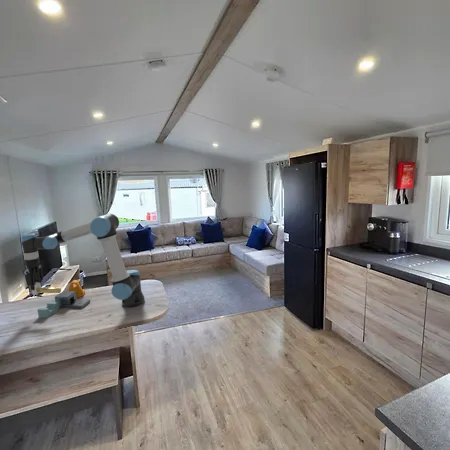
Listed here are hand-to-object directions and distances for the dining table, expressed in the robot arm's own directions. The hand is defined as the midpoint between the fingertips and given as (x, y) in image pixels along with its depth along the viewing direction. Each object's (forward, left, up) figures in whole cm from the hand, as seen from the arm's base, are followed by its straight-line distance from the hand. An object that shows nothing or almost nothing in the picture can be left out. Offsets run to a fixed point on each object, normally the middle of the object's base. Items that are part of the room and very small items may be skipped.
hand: (37, 293), depth 174 cm
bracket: (-7, -27, -14) cm, 31 cm away
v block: (-6, 0, -14) cm, 15 cm away
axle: (-7, 0, 0) cm, 7 cm away
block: (-15, -13, -14) cm, 24 cm away
